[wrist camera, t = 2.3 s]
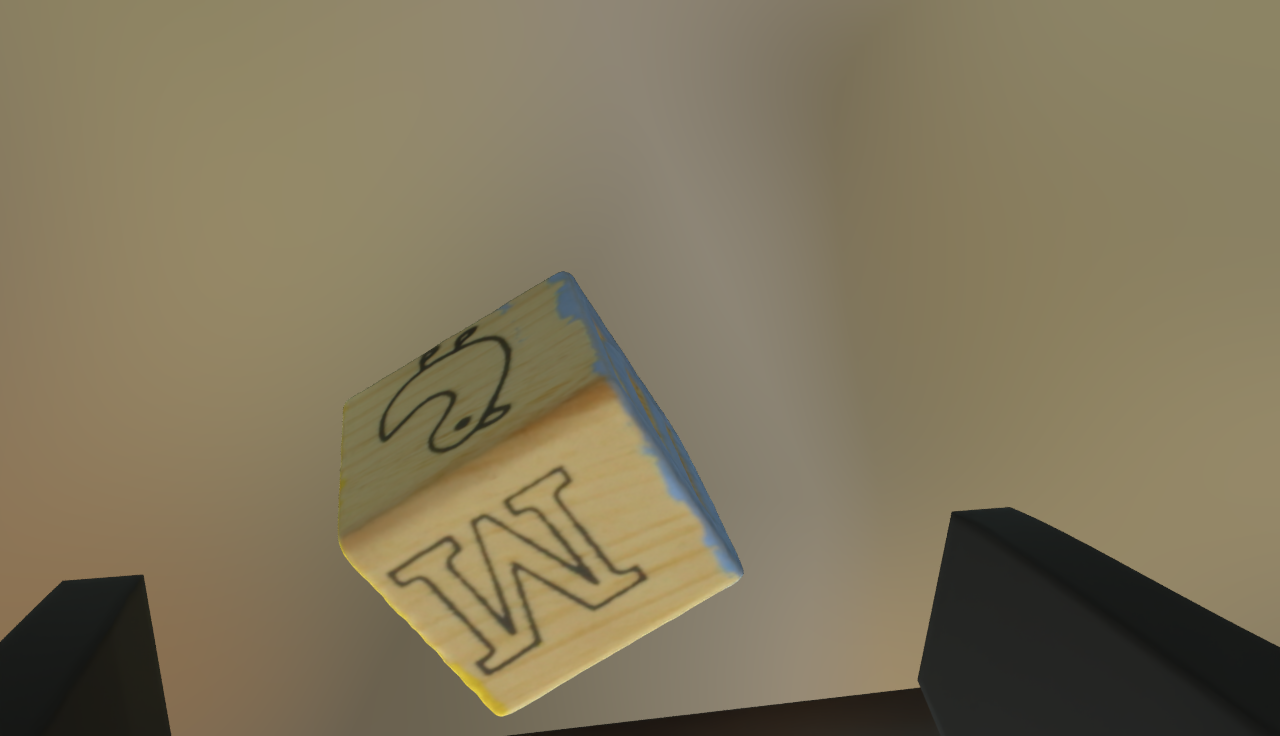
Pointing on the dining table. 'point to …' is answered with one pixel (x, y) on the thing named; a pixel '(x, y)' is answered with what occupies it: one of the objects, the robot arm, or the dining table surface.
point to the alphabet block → (526, 499)
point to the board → (788, 719)
